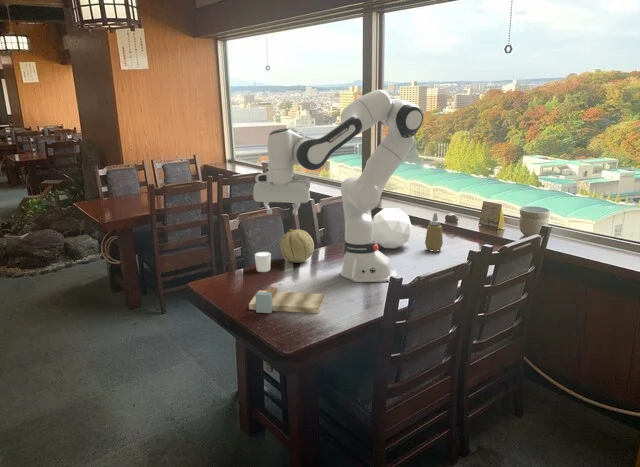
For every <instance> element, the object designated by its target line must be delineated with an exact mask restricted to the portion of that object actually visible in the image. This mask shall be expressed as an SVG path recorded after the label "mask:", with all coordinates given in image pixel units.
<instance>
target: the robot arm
mask: <svg viewBox="0 0 640 467" xmlns="http://www.w3.org/2000/svg"><path fill="white" fill-rule="evenodd" d="M423 121H424V112H423V110H422V108H420V106H418V105H417V104H415V103H412V102H411V101H407V100H404V99H400V98H395V97H391V96H390V95H389V93H387V91H385V90H384V89H375V90H372V91H370V92H367V93H366V94H363V95H362V96H359V97H358V98H357V99H355V100H354V101H352V102H350V103H349V104H348V105H347V106H346V107H344V109H343V110H341V114H340V122H339V124H338V125H337V126H335V127H334V128H333V129H331V130H330V131H329V132H327V133H326V134H324V135H323V136H321V137H319V138H315V139H311V138H309V137H308V138H307V137H304V136H302V135H300V134H298V133H296V132H294V131H293V130H291V129H290V128H279V129H275V130H273V131H271V132H270V133H269V135H268V137H267V138H268V139H267V158H268V171H264V172H262V173H259V174H257V175H256V176H255V184H254V185H253V192H252V193H253V196H252V198H253V200H254V202H256V203H258V202H259V203H263V206H264V207H265V209H266V214H267V215H272V214H273V208H271V207H270V205H269V204H270V203H288V204H289V203H290V204H291V203H292V204H295V208H293V209H292V216H297V215H298V210H299V208H300V207H301V204H306V203H308V202H309V201H310V200H311V192H310V188H311V180H310V178H308V177H306V176H299V175H296V176H295V174H294V165H300V166H301V167H303V168H304V169H305V170H309V171H316V170H318V169H320V168H322V167H323V166H324V165H325V164H326V162H327V161H328V159H329V158H330V156H331V155H332V154H333V153H335V152H336V151H337V150H338V149H340V148H341V147H342V146H343V147H344V145H345V144H347V143H348V142H350V141H351V140H352V139H354V137H356V136H358V135H359V134H362V133H364V132H365V131H367V130H368V129H370V128H371V127H373V126H374V125H376V124H377V123H378V122H379V123H380V124H381V125H384V126H386V127H387V128H388V133H387V135H386V136H385V138H384V139H383V140H382V141H381V142H380V143H379V145H378V146H377V147H376V149H375V150H374V151H373V152H372V154H371V155H370V157H368V159H367V160H366V163H365V166H364V169H363V170H362V172H361V174H360V175H359V176H349V177H347V178H345V179H344V180H343V181H342V183H341V185H340V193H341V199H342V200H341V201H342V209H343V217H344V240H343V255H344V256H343V264H342V269H341V272H340V275H341V276H342V277H343V278H346V279H348V280H350V281H352V282H354V283H378V282H379V283H383V282H386V281H388V280H389V277H390V276H394V277H396V278H397V275H398V274H397V270H396V269H395V268H393V267H392V264H391V259H390V258H389V257H388V256H386V254H384V253H383V252H381V251H379V244H378V243H377V241H376V242H375V241H374V240H373V217H372V213H371V211H372V210H374V209H376V208H377V207H378V205H379V204H380V201H381V196H382V193H383V191H384V189H385V187H386V186H387V183H388V182H389V180H390V178H391V177H392V176H393V175H394V173H395V172H396V170H397V169H398V168H399V167H400V166H401V164H402V163H403V162H404V161H405V159H406V157H407V156H408V154H409V153H410V151H411V149H413V148H412V147H413V146H414V144H415V141H416V139H415V136H416V134H417V133H418V130H420V129H421V126H422V125H423ZM388 282H389V281H388Z"/></svg>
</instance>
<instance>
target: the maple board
mask: <svg viewBox="0 0 640 467" xmlns="http://www.w3.org/2000/svg"><path fill="white" fill-rule="evenodd" d="M267 291H268V290H258V291H257V292H267ZM324 300H325V294H324V293H312V292H311V293H310V292H296V291H295V292H294V291H293V292H292V291H278V290H277V292H276V293H275V295H274V296H273V298H272V307H273V311H274V312H288V313H289V312H290V313H304V314H319V313H320V311H321V308H322V307H323V306H322V305H323V303H324ZM248 309H249V310H255V311H256V296H255V295H254V296H253V297H252V299H251V300H250V301H249V303H248ZM273 311H272V312H273Z"/></svg>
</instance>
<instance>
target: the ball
mask: <svg viewBox="0 0 640 467" xmlns="http://www.w3.org/2000/svg"><path fill="white" fill-rule="evenodd" d="M372 220H373V240H374V241H375V242H376V241H377V243H378V246H380V247H382V248H383V247H384V248H383V249H398V248H400V247H401V246H402V245H405V244H406V243H407V242H408V241H409V240H410V237H411V234H412V231H413V227H412V224H411V220H410V216H409V215H408V214H406V213H405V212H403V211H402V210H401V209H399V208H393V207H391V208H389V207H384V208H383V209H381V210H380V211H378V213H376V214H375V215H373V217H372Z"/></svg>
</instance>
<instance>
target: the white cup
mask: <svg viewBox="0 0 640 467" xmlns="http://www.w3.org/2000/svg"><path fill="white" fill-rule="evenodd" d="M271 260H272V253H271V252H269V251H259V252H256V253H254V261H255V267H256V271H257V272H259V273H267V272H270V271H271V263H272V262H271Z"/></svg>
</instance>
